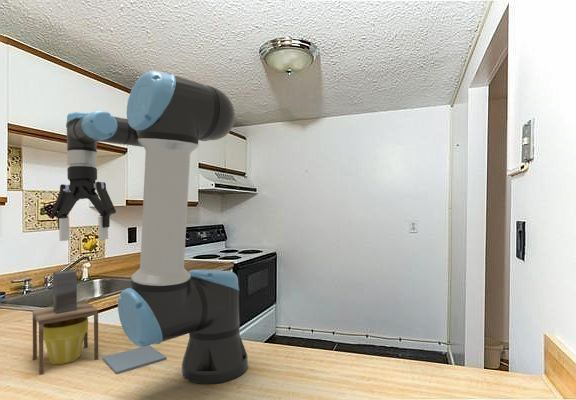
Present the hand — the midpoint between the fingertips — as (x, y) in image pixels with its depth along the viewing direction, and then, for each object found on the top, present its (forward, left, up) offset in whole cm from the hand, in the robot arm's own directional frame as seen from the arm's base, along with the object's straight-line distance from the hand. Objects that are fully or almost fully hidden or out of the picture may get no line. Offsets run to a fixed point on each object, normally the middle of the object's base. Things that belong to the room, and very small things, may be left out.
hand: (83, 240), depth 104 cm
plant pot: (-8, +6, -30) cm, 32 cm away
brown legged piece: (-8, +6, -30) cm, 31 cm away
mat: (-21, -7, -30) cm, 37 cm away
